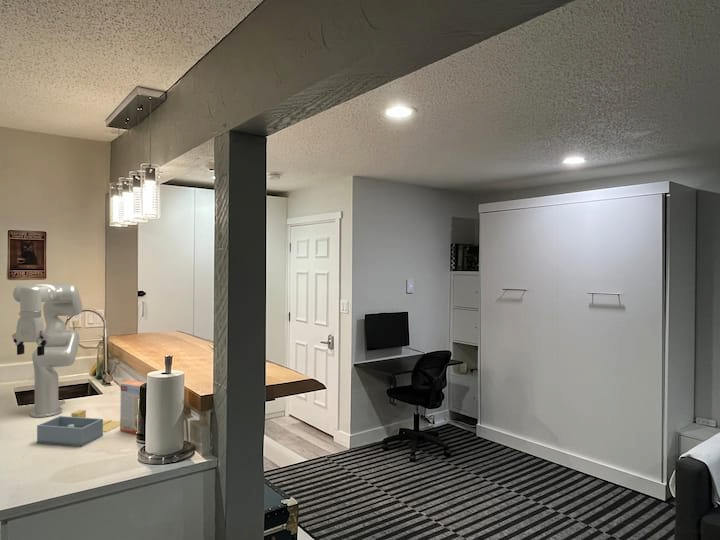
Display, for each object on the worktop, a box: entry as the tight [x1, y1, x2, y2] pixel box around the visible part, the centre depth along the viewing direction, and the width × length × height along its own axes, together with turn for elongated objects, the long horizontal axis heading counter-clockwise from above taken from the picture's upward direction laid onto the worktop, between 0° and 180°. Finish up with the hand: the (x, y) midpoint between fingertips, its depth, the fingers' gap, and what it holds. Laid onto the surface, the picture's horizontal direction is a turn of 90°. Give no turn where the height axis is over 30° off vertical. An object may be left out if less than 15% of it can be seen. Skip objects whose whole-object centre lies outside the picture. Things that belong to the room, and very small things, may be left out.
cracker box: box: [119, 380, 145, 435], centre depth 206 cm, size 14×6×21 cm, turn 65°
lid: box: [71, 409, 120, 433], centre depth 213 cm, size 21×13×6 cm, turn 82°
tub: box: [36, 415, 104, 447], centre depth 197 cm, size 20×12×7 cm, turn 82°
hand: (30, 354), depth 207 cm, fingers open, 9 cm apart
